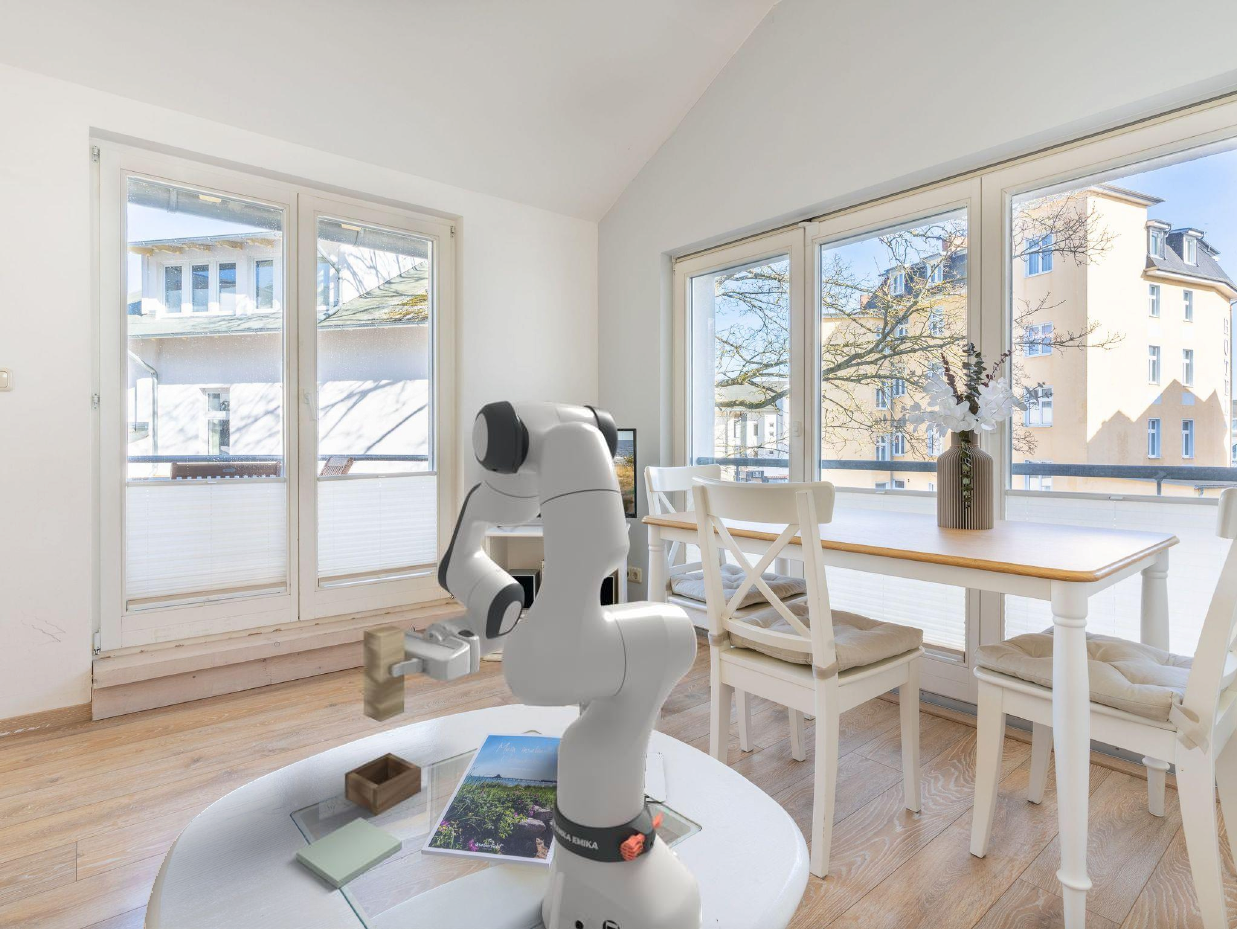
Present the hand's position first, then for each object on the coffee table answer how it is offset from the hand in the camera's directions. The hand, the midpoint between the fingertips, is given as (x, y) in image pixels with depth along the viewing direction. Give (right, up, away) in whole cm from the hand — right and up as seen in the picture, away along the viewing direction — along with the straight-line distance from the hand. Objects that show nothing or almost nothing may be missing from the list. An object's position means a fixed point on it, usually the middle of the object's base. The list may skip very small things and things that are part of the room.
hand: (379, 667), depth 104 cm
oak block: (0, -8, +1) cm, 8 cm away
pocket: (0, -22, +2) cm, 22 cm away
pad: (+1, -22, -13) cm, 26 cm away
